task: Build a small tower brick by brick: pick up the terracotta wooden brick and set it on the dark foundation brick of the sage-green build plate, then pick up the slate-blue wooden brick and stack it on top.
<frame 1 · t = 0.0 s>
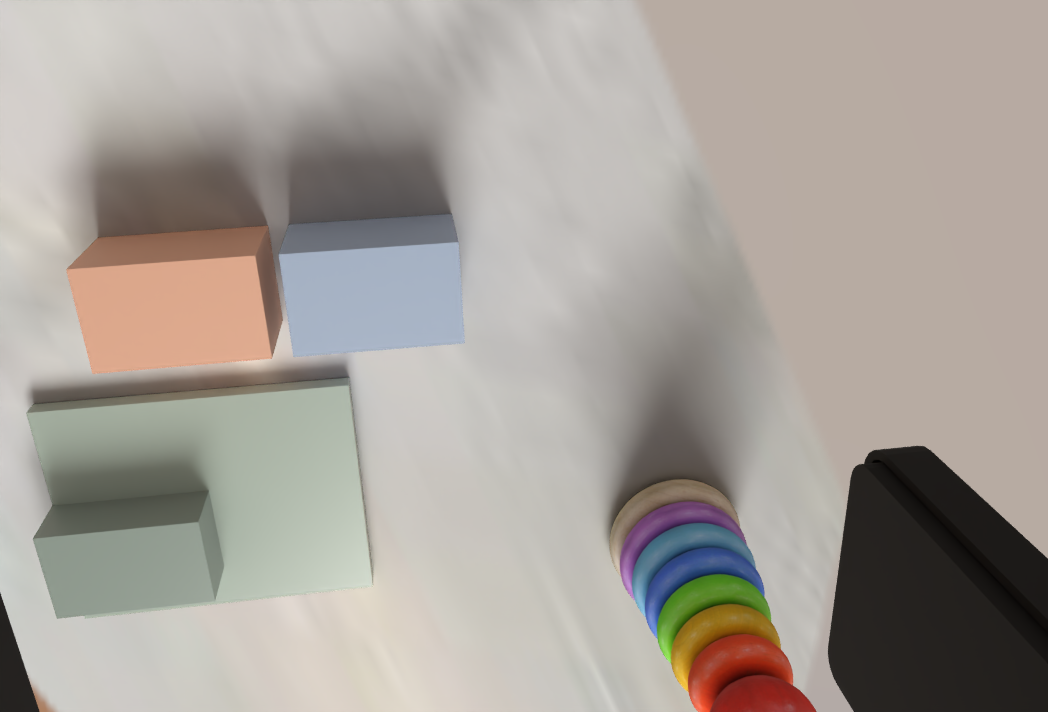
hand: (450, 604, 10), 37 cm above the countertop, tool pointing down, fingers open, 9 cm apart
terracotta brick: (193, 279, 46), on the countertop
build plate: (215, 496, 50), on the countertop
slate brick: (376, 266, 47), on the countertop
stacking toy: (669, 527, 56), on the countertop
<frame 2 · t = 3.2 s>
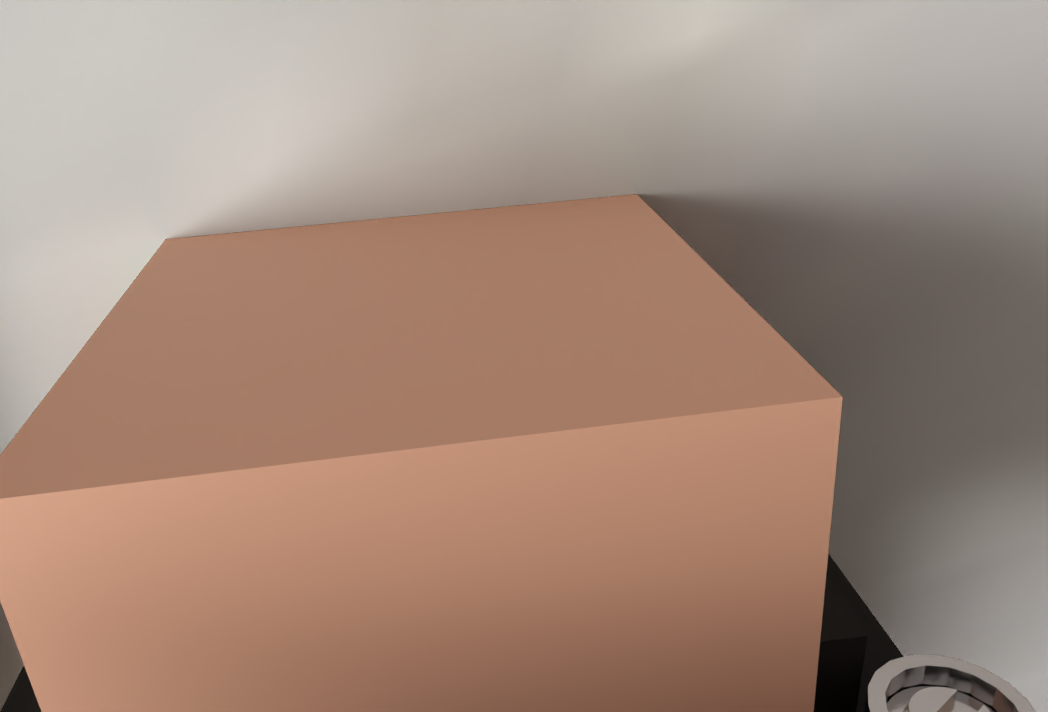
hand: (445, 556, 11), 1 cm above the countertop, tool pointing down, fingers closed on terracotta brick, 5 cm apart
terracotta brick: (443, 528, 11), on the countertop, touching gripper
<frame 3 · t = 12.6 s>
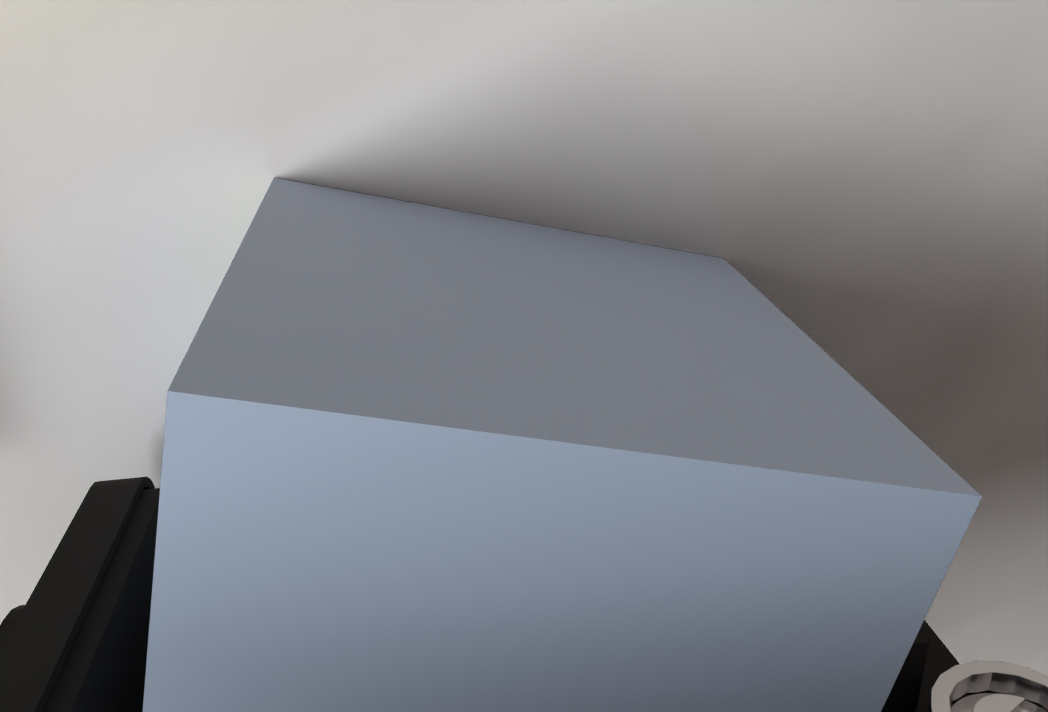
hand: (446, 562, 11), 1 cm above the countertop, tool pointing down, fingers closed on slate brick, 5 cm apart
slate brick: (443, 528, 11), on the countertop, touching gripper
when the fingers open (11 cm above the countertop, at t = 17.4 s): slate brick drops 1 cm, resting on terracotta brick.
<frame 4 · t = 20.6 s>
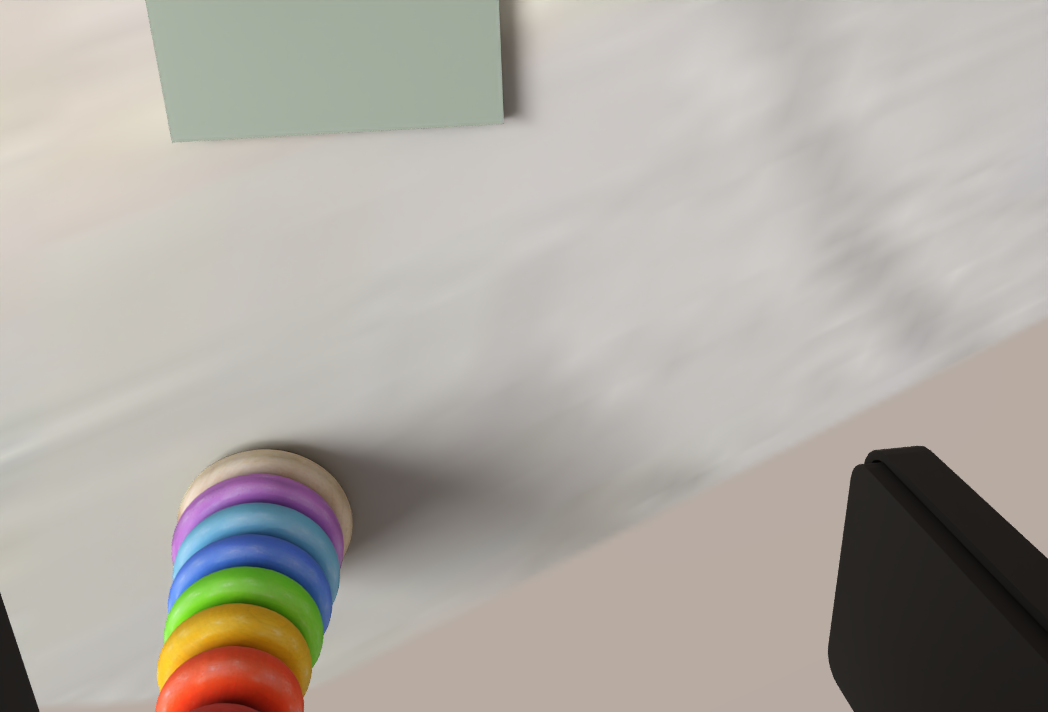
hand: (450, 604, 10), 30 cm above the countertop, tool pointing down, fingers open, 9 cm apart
stacking toy: (269, 511, 44), on the countertop
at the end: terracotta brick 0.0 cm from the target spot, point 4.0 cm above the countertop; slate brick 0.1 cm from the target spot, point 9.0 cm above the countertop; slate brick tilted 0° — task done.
